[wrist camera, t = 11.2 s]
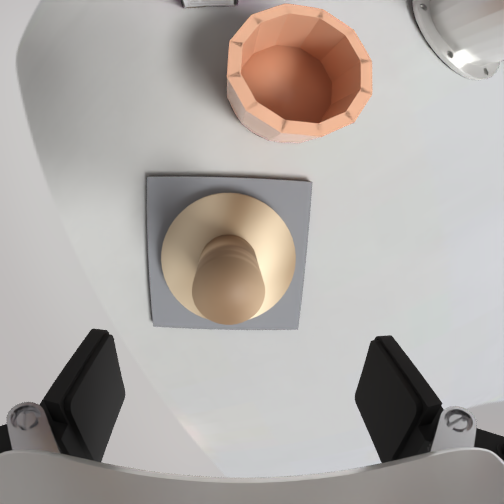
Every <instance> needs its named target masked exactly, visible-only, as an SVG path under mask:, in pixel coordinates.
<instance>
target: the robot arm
mask: <svg viewBox="0 0 504 504" xmlns="http://www.w3.org/2000/svg"><path fill="white" fill-rule="evenodd" d="M412 4H413V11H414V15H415V18H416V21H417V23H418V26H419V28H420V30H421V32H422V34H423V35H424V37H425V39H426V41H427V42H428V43H429V45H430V46H431V48H432V49H433V50H434V52H435V53H436V54H437V55H438V56H439V57H440V59H441V60H442V61H443V62H445V63H446V64H447V65H448V66H449V67H450V68H451V69H453V70H454V71H455V72H456V73H458V74H460V75H462V76H464V77H465V78H468V79H471V80H484V79H488V78H490V77H492V76H493V75H494V74H495V73H496V72H497V70H498V68H499V64H500V61H504V0H412ZM124 398H125V388H124V384H123V381H122V377H121V372H120V367H119V363H118V358H117V353H116V348H115V343H114V338H113V336H112V335H109V332H108V331H107V330H100V329H92V330H91V331H90V332H89V334H88V335H87V336H86V338H85V339H84V340H83V342H82V343H81V345H80V346H79V348H78V349H77V350H76V352H75V353H74V354H73V356H72V357H71V359H70V360H69V362H68V363H67V364H66V366H65V367H64V369H63V370H62V372H61V373H60V374H59V376H58V377H57V379H56V380H55V382H54V383H53V385H52V386H51V388H50V389H49V391H48V393H47V394H46V396H45V397H44V399H43V400H42V402H41V403H40V405H38V404H36V403H33V402H24V403H21V404H18V405H16V406H14V407H13V408H12V409H11V410H10V411H9V413H8V415H7V424H6V425H2V426H0V504H504V437H503V436H500V435H496V434H493V433H490V432H487V431H484V430H481V429H477V428H476V427H477V423H476V419H475V417H474V415H473V414H472V413H471V412H470V411H468V410H467V409H465V408H462V407H457V406H453V407H448V408H446V409H445V410H443V408H442V407H441V405H442V402H441V401H440V399H439V398H438V397H437V395H436V394H435V393H434V391H433V390H432V388H431V387H430V386H429V384H428V383H427V382H426V380H425V379H424V378H423V376H422V375H421V373H420V372H419V371H418V369H417V368H416V367H415V365H414V364H413V363H412V362H411V360H410V359H409V358H408V356H407V355H406V354H405V352H404V351H403V350H402V348H401V347H400V346H399V345H398V343H397V342H396V341H395V339H394V338H393V337H392V336H390V335H389V336H377V337H376V338H375V340H373V341H371V343H370V346H369V350H368V353H367V357H366V360H365V364H364V367H363V371H362V374H361V377H360V380H359V384H358V387H357V390H356V393H355V402H356V404H357V407H358V409H359V411H360V413H361V416H362V418H363V420H364V423H365V425H366V427H367V429H368V432H369V434H370V436H371V439H372V441H373V443H374V446H375V448H376V450H377V453H378V455H379V457H380V460H381V462H382V463H380V464H375V465H370V466H365V467H360V468H354V469H348V470H341V471H334V472H327V473H318V474H309V475H298V476H284V477H261V478H226V477H202V476H189V475H178V474H169V473H160V472H153V471H146V470H140V469H133V468H127V467H122V466H116V465H111V464H105V463H101V461H102V458H103V455H104V452H105V449H106V446H107V444H108V441H109V438H110V436H111V433H112V430H113V427H114V424H115V422H116V419H117V417H118V414H119V412H120V409H121V406H122V404H123V401H124Z"/></svg>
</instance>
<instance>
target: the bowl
mask: <svg viewBox="0 0 504 504" xmlns="http://www.w3.org/2000/svg"><path fill="white" fill-rule="evenodd" d="M371 95H372V60H371V59H370V57H369V55H368V53H367V51H366V50H365V48H364V46H363V44H362V43H361V41H360V39H359V38H358V36H357V34H356V33H355V31H354V30H353V29H352V28H350V27H349V26H347V25H346V24H344V23H343V22H342V21H340V20H339V19H337V18H336V17H334V16H333V15H331V14H330V13H328V12H326V11H325V10H323V9H319V8H313V7H307V6H301V5H294V4H282V5H279V6H276V7H273V8H270V9H267V10H264V11H261V12H258V13H255V14H252V15H251V16H250V17H249V18H248V19H247V21H246V22H245V23H244V24H243V25H242V26H241V28H240V29H239V30H238V31H237V32H236V34H235V35H234V36H233V37H232V39H231V40H230V41H229V53H228V67H227V98H228V100H229V102H230V104H231V107H232V109H233V111H234V113H235V115H236V116H237V118H238V119H239V120H240V122H241V124H242V125H244V126H245V127H246V128H248V129H249V130H250V131H252V132H253V133H254V134H256V135H258V136H260V137H262V138H265V139H266V140H268V141H274V142H281V143H302V142H305V141H308V140H312V139H316V138H319V137H322V136H324V135H327V134H329V133H331V132H333V131H336V130H338V129H340V128H342V127H345V126H347V125H349V124H351V123H354V122H355V120H356V119H357V117H358V116H359V114H360V113H361V111H362V110H363V108H364V106H365V105H366V103H367V102H368V100H369V99H370V97H371Z"/></svg>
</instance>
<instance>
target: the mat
mask: <svg viewBox="0 0 504 504" xmlns="http://www.w3.org/2000/svg"><path fill="white" fill-rule="evenodd" d="M230 192H231V193H240V194H244V195H248V196H251V197H254V198H256V199H258V200H260V201H262V202H264V203H265V204H266V205H268V206H269V207H271V208H272V209H273V210H274V211H275V212H276V213H277V214H278V215H279V216H280V217H281V219H282V220H283V221H284V223H285V224H286V226H287V228H288V229H289V231H290V234H291V236H292V238H293V242H294V246H295V254H296V263H295V270H294V274H293V278H292V281H291V283H290V285H289V287H288V289H287V290H286V292H285V294H284V295H283V296H282V298H281V299H280V300H279V301H278V302H277V303H276V304H275V305H274V306H273V307H272V308H270V309H269V310H268V311H266V312H264V313H263V314H261V315H259V316H257V317H254V318H252V319H249V320H247V321H245V322H242V323H239V324H234V325H223V324H218V323H215V322H213V321H211V320H208V319H205V318H202V317H200V316H198V315H196V314H194V313H193V312H191V311H189V310H188V309H187V308H185V307H184V306H183V305H182V304H181V303H180V302H179V301H178V300H177V299H176V298H175V296H174V295H173V294H172V292H171V291H170V289H169V287H168V285H167V283H166V281H165V278H164V275H163V271H162V264H161V251H162V246H163V241H164V238H165V235H166V233H167V231H168V229H169V227H170V225H171V224H172V222H173V221H174V220H175V218H176V217H177V216H178V215H179V214H180V213H181V212H182V211H183V210H184V209H185V208H186V207H187V206H189V205H190V204H192V203H193V202H195V201H197V200H199V199H201V198H203V197H206V196H209V195H212V194H217V193H230ZM311 194H312V182H308V181H294V180H278V179H260V178H236V177H197V176H149V177H147V236H148V262H149V280H150V294H151V307H152V318H153V326H154V327H171V328H193V329H226V330H296V329H298V325H299V317H300V309H301V300H302V291H303V282H304V273H305V263H306V253H307V242H308V231H309V220H310V207H311Z"/></svg>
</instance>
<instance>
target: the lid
mask: <svg viewBox="0 0 504 504" xmlns="http://www.w3.org/2000/svg"><path fill="white" fill-rule="evenodd" d="M295 263H296V254H295V246H294V242H293V238H292V236H291V234H290V231H289V229H288V228H287V226H286V224H285V223H284V221H283V220H282V219H281V217H280V216H279V215H278V214H277V213H276V212H275V211H274V210H273V209H272V208H271V207H269V206H268V205H266V204H265V203H264V202H262V201H260V200H258V199H256V198H254V197H251V196H248V195H244V194H240V193H231V192H230V193H217V194H212V195H209V196H206V197H203V198H201V199H199V200H197V201H195V202H193V203H192V204H190V205H189V206H187V207H186V208H185V209H184V210H183V211H182V212H181V213H180V214H179V215H178V216H177V217H176V218H175V220H174V221H173V222H172V224H171V225H170V227H169V229H168V231H167V233H166V235H165V238H164V241H163V246H162V251H161V264H162V271H163V275H164V278H165V281H166V283H167V285H168V287H169V289H170V291H171V292H172V294H173V295H174V296H175V298H176V299H177V300H178V301H179V302H180V303H181V304H182V305H183V306H184V307H185V308H187V309H188V310H189V311H191V312H193V313H194V314H196V315H198V316H200V317H202V318H205V319H208V320H211V321H213V322H215V323H218V324H223V325H234V324H239V323H242V322H245V321H247V320H249V319H252V318H254V317H257V316H259V315H261V314H263V313H264V312H266V311H268V310H269V309H270V308H272V307H273V306H274V305H275V304H276V303H277V302H278V301H279V300H280V299H281V298H282V296H283V295H284V294H285V292H286V290H287V289H288V287H289V285H290V283H291V281H292V278H293V274H294V270H295Z"/></svg>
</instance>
